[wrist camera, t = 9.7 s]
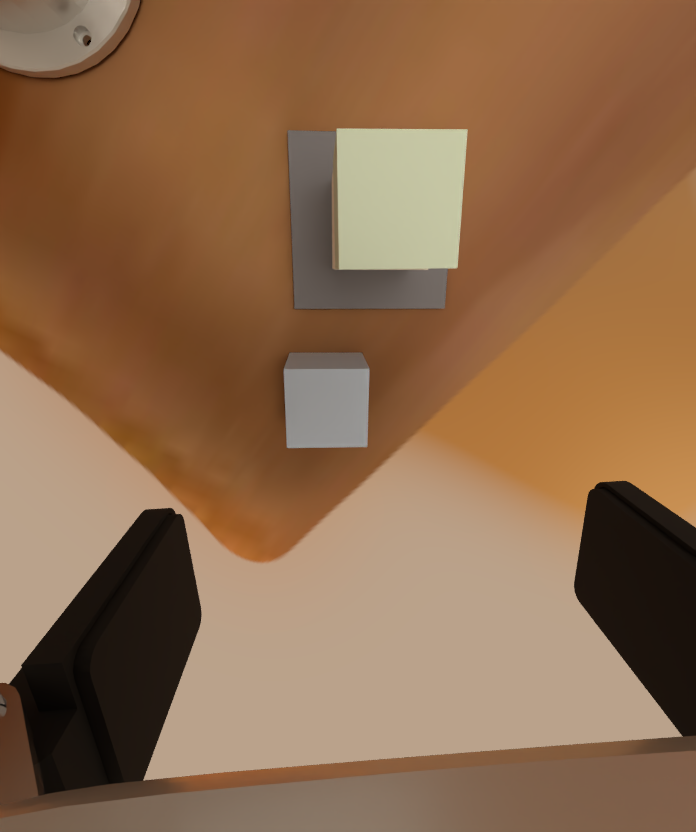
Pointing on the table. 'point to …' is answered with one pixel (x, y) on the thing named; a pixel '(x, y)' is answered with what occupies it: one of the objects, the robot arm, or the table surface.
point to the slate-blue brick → (326, 400)
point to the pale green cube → (398, 197)
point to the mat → (314, 244)
